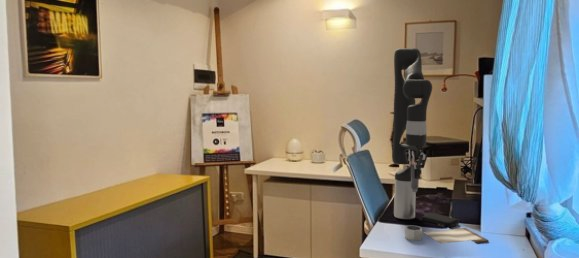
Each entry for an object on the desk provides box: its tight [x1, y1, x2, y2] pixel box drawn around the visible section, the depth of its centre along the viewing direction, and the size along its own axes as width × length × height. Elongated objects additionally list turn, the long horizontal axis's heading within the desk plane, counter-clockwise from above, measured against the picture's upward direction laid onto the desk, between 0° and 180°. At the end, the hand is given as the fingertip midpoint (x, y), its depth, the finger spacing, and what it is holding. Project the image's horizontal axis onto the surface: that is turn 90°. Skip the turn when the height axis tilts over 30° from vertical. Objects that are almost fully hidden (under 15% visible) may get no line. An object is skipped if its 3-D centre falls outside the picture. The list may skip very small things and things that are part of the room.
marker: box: [411, 160, 420, 193], centre depth 175 cm, size 3×3×12 cm
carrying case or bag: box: [419, 212, 460, 229], centre depth 199 cm, size 11×3×15 cm
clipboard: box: [422, 227, 489, 244], centre depth 181 cm, size 15×22×1 cm
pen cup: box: [404, 224, 423, 242], centre depth 178 cm, size 6×6×5 cm
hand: (414, 177), depth 175 cm, fingers closed on marker, 2 cm apart
